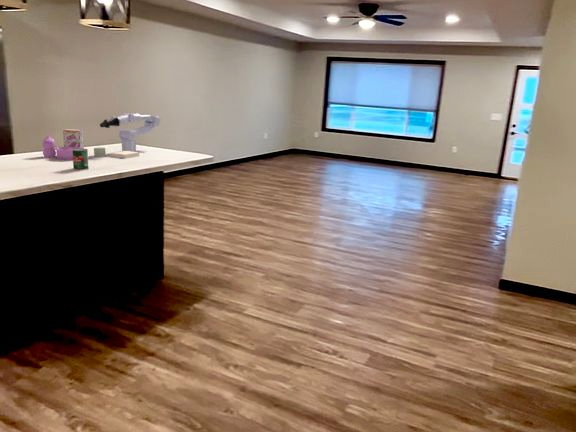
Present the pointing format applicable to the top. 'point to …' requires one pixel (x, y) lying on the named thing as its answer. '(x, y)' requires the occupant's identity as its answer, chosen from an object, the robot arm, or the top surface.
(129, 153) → the cream block
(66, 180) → the top surface
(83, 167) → the canned tomato
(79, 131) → the candy bar box
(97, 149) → the sage cube
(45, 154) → the container set
